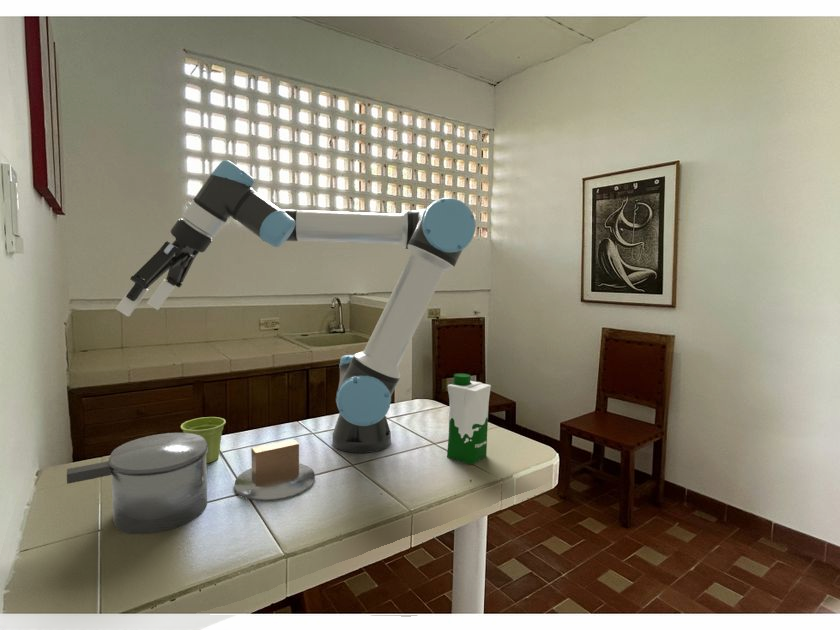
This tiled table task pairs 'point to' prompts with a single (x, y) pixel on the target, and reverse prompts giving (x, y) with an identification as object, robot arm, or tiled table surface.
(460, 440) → the milk carton
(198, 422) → the plant pot
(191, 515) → the grey saucepan
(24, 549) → the tiled table surface
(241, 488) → the lid
